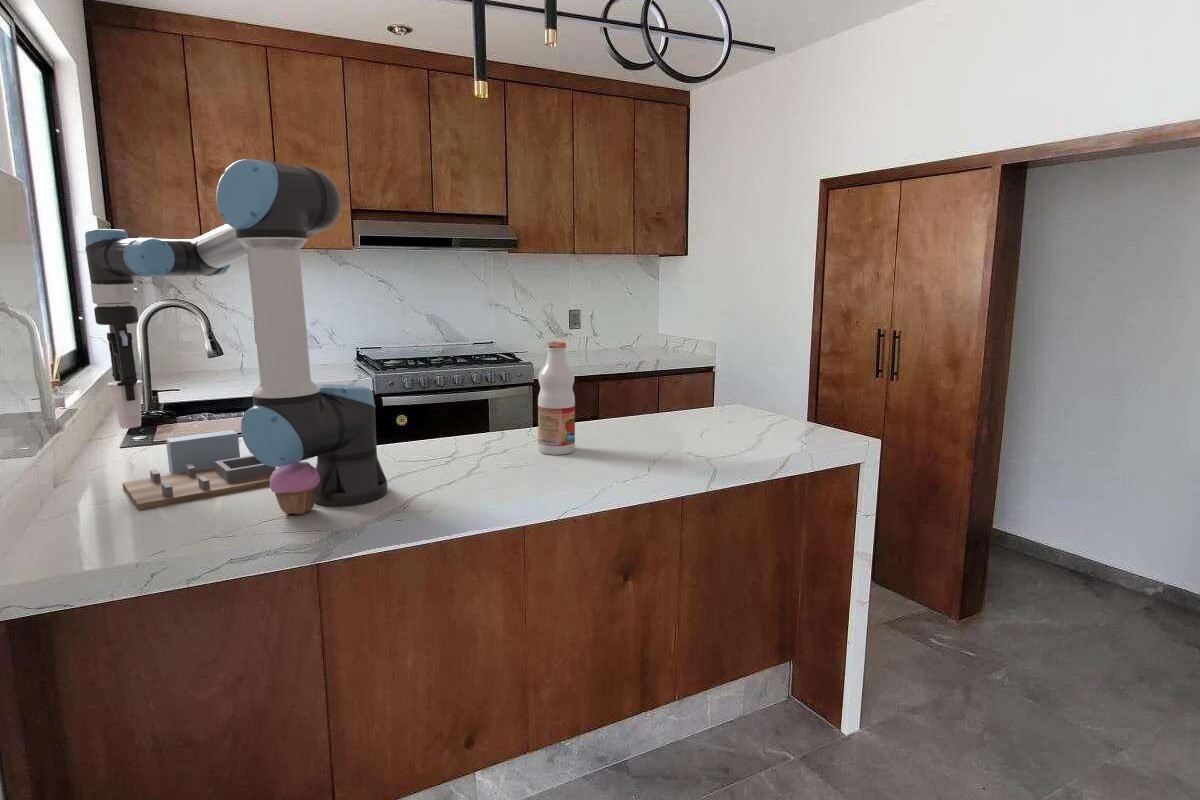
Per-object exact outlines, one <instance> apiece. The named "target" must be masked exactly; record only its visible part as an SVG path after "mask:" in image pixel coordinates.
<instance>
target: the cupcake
mask: <svg viewBox="0 0 1200 800" xmlns="http://www.w3.org/2000/svg"><path fill="white" fill-rule="evenodd" d="M319 482H320V475H319V473H318V471H317V470H316V466H315V467H314V466H313V465H312V464H311V463H310V462H308V461H300V462H298V463H296V464H292V465H290V464H288V465H284V466H280V467H276V470H274V471H273V473H272V475H271V477H270V486H269V488H270V490H271V492H272V493H274V494H275V498H276V500H277V502H278V503H277V504H278V505H279V508H280V510H282V512H283V513H284V514H285V515H291V514H295V515H304V514H306V513H308V512H309V511H311V510H312V509H313V508H314V506H315V502H314V489H315V487H316V486H317V485H318V484H319Z"/></svg>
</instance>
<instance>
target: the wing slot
mask: <svg viewBox="0 0 1200 800" xmlns="http://www.w3.org/2000/svg"><path fill="white" fill-rule="evenodd" d="M185 471H186V474H187V475H188V476H189V477H196V470H195V467H194V466H193V465H192V464H186V465H185ZM149 474H150V478H151V480H152V481H153V482H154V483H160V482H161V478H160V476H161V472H159V471H158V469H157V468H154V469H150V470H149ZM198 482H199V487H200V488H201V489H202V490H203V491H205V490H210V483H209V480H208V479H207V478H206V477H205V476H201V477H198ZM161 486H162V493H163V494H164V495H165V496H166V497H171V496H173V489H172V486H171V485H170V484H169V483H168V482H165V483H161Z"/></svg>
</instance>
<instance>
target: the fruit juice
mask: <svg viewBox="0 0 1200 800" xmlns="http://www.w3.org/2000/svg"><path fill="white" fill-rule="evenodd" d="M546 350H547V357H546V359H545V363H544V365H543V366H542V368H541V369H540V371H539V373H538V383H539V387H540V389H539V393H538V397H537V413H538V414H537V418H538V419H537V420H538V421H537V424H538V427H537V429H538V430H537V431H538V432H537V435H538V443H537V445H538V451H539V452H540V453H542V454H545V455H551V456H560V455H561V456H562V455H567V454H571V453H573V452H574V451H575V448H576V399H575V398H576V397H575V393H574V390H573V386H574V383H575V374H574V372H573V370H572V368H571V367H570V365H569V364H568V362H567V357H566V351H565V350H567V343H566V342H564V341H548V342H547V343H546Z"/></svg>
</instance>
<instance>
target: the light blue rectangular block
mask: <svg viewBox="0 0 1200 800" xmlns="http://www.w3.org/2000/svg"><path fill="white" fill-rule="evenodd" d="M165 442H166V445H165V446H166V451H167V452H166V453H167V463H168V470H169V473H170V475H172V474H178V473H184V472H186V471H185V465H186V464H192V465H193V466H194V467H195V470H196V471H197V470H203V469H209V468H215V461H220V460H226V459H233V458H239V457H241V455H240V454H241V451H240V443H239V433H238V432H236V431H235V430H234V429H229V430H221V431H213V432H206V433H199V434H191V435H190V434H189V435H183V436H175V437H168V438H167V437H166V438H165Z"/></svg>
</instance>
